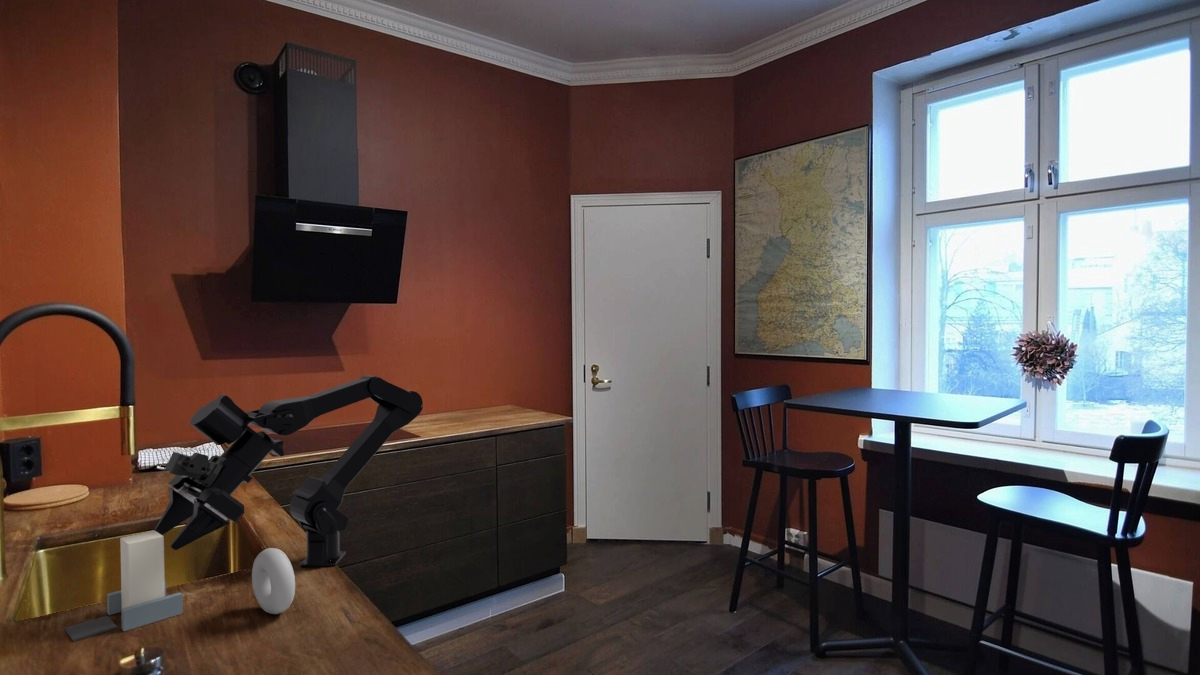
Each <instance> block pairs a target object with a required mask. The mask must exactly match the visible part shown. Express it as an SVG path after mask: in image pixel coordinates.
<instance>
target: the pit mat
mask: <svg viewBox="0 0 1200 675" xmlns="http://www.w3.org/2000/svg"><path fill="white" fill-rule="evenodd" d="M64 628H65V629H64V630H65V632H66V633H67V635H68V636H69V637H70V639H71V640H72V641H73V642H76V641H80V640H83V639H86V638H90V637H93V636H97V635H99V634H103V633H106V632H109V631H113V630H116V629H118V625H116V624H115V622H114V621H113V620H112V619H111V617H109V615H104V616H101V617H98V618H94V619H91V620H87V621H83V622H80V623H76V624H73V625H70V626H66V627H64Z"/></svg>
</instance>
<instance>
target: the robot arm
mask: <svg viewBox="0 0 1200 675" xmlns="http://www.w3.org/2000/svg"><path fill="white" fill-rule="evenodd" d="M366 399H370V400H371V401H373V402H374V403H376V404H377V407H376V411H375V415H374V418H373V419H372V421H371V422H370V423H369V425H368V426H366V428H365V429H364V430H363V431H362V433H360V434H359V435H358V437H357V438H356V439H355V440H354V441H353V442H352V444H350V446H348V448H346V450H345V451H344V452H343V454H342V455H341V456H340V457H339V458H338V459H337V461H335V463H334V464H333V465H332V466H331V467H330V469H328V470H327V472H326V473H324V474H323V475H322V476H320V477H318V478H316V477H313V476H311V475H310V476H308V477H306V478H305V480H304V481H303V483H302V484H301V485H300V487H299V488H297V489H296V490H294V491H293V492H292V494H293V497H292V498H291V499H290V502H289V513H290V515H291V516H292V517H293V519H295V520H297V521H298V523H299V526H300V527H301V528H305V529H306V531H305V533H306V534H305V535H306V557H305V558H304V559H303V560H302V561H301V562H300V563H299V567H301V568H302V567H303V568H304V567H326V566H327V567H328V566H329V567H330V566H336V565H338V563H339V562H340V561H341V559H342V558H343V557H344V556H346V552H347V551H345V550H340V532H341V531H344V530H346V528H347V525H348V522H349V518H348V517H347V516H346V515H345V514H343V513H342V512H340V511H339V510H338V509H339V507H340V506H341V505H342V503H343V499H344V495H345V491H346V489H347V487H348V486H349V485H350V484H351V483H352V481H354V479H355V478H356V477H357V475H358V474H359V473H360V472H361V471H362V470H363V469H364V468H365V466H366V465H367V464H368V463H369V462H370V461H371V459H372V458H373V457H374V456H375V455H376V453H377V452H378V451H379V450H380V448H382V447H383V445H384V444H385V443H386V442H387V440H388V439H389V438H390V437H391V436H392V435H393V434H394V433H395V432H397V431H398V430H400V429H403V428H404V427H405V426H408V425H409V424H411V423H412V422H413V421H414V420H415V419H416V418H417V417H418V416H419V415H421V413H422V411H423V409H424V405H423V404H424V403H423V401H424V400H423V399H422V396H421V395H420V393H418V391H414V390H408V389H407V390H406V389H404V388H401V387H400V386H397V385H396V384H393V383H391V382H388V381H387V380H385V379H383V378H382V377H380V376H378V375H368V374H367V375H363V376H361V377H360V378H358V379H354V380H351V381H348V382H346V383H343V384H341V385H339V384H338V385H337V386H333V387H331V388H328V389H325V390H322V391H319V392H316V393H313V394H310V395H306V396H300V397H293V398H292V397H291V398H284V399H278V400H271V401H268V402H266V403H263V404H262V405H261V406H260V408H258V409H254V410H250V411H244V410H243V409H242V408H241V407H239V406H238V405H237V404H236V403H235V402H234V401H233V399H232V398H231V397H229V395H226V394H220V395H219V396H218V397H216V399H214V400H211V401H210V402H208V403H207V404H206V405H204V406H201V407H200V408H199V409H198V410H197V411H196V412H195V413H194V414H193V416H192V417H191V419H190V421H189V425H190V426H191V427H192V428H194V429H196V431H198V432H199V433H200V434H202V435H203V436H204V437H205V438H207V439H209V441H211V442H212V443H213V444H214V445H215V446H221V445H224V444H226V445H229V446H228V447H227V448H226V449H225V450H224V451H223V452H222V454H220V455H217V454H215V455H212V456H211V457H210V458H209V455H206V454H203V453H200V452H194V453H193V454H192V455H187V454H184V453H180V452H176V451H173V452H172V454H171V456H170V457H169V460H168V462H167V464H166V466H165V468H164V471H165V472H169V473H170V474H172V475H175V476H174V477H173V478H172V479H170V481H169V482H168V483H167V484H168V485H169V487H167V492H168V497H169V502H168V504H167V506H166V508H165V510H164V512H162V513H163V514H162V515H161V516H160V519H159V520H158V522H157V524H156V526H155V527H154V530H153V531H156V532H158V533H159V534H161V535H162V536H164V535H165V534H167V533H168V532H170V531H171V530H173V529H174V528H176V527H177V526H179V525H180V524H182V523H183V522H185V521H187V520H188V521H187V522H186V524H185V525H184V526H183V527H182V529H181V530H180V531H179V533H178V534H177V535H176V536H175V538H174V540H173V541H172V542H171V544H170V545H169V546H170V548H171V549H173V550H175V551H178V550H180V549H181V548H184V547H185V546H188V545H189V544H191V543H193V542H194V541H197V540H199V539H201V538H203V537H205V536H207V535H209V534H211V533H212V532H215V531H217V530H219V529H221V528H224V527H225V526H226V527H227V526H229V525H231V523H230V522H229V521H231V522H232V523H234V524H236V523H238V521H239V520H240V519H241V518H242V516H243V515H244V514H245V504H244V503H242V502H241V501H239V500H238V499H236V498H235V497H234V496H232V495H233V494H234V493H235V492H236V491H237V489H238V488H240V486H241V485H242V484H243V483H247V484H249V483H250V482H251V480H253V478H252V477H251V474H252V473H253V472H254V471H255V470H256V469H257V468H258V467H259V465H260V464H261V463H262V462H263V461H264V460H265V459H266V458H267V457H268V456H269V455H270V453H271V454H272V455H275V456H279V457H283V456H284V455H285V451H284V441H283V440H281V439H273V438H272V437H271V436H269V435H268V433H271V434H275V435H278V436H289V435H290V436H291V435H292V434H294V433H296V432H297V431H299V430H301V429H303V428H305V427H307V426H308V425H310V423H312V422H313V421H314V420H315V419H317V418H318V417H320V416H323V415H325V414H328V413H331V412H333V411H337V410H338V409H341V408H344V407H347V406H350V405H352V404H355V403H359V402H361V401H363V400H366ZM251 426H253V427H257V428H261V429H262V430H263V431H262V430H261V431H258V432H256V431H255V430H254V429H252V428H251ZM264 431H265V432H264ZM171 487H172V488H171ZM227 520H229V521H227ZM330 560H331V561H330Z"/></svg>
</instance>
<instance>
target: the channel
mask: <svg viewBox="0 0 1200 675" xmlns="http://www.w3.org/2000/svg"><path fill="white" fill-rule="evenodd" d="M164 582H165V597H161V598H158V599H154V600H151V601H147V602H143V603H140V604H136V605H133V606H129V607H126V608H122V600H121V589H120V590H116V591H112V592H108V593H107V594H106V601H107V602H106V604H107V605H106V607H107V609H106V610H107V612H106V613H107V614H108V616H111V615H115V614H118V613H121V616H120V618H121V620H120V621H121V630H122V632H126V631H130V630H133V629H137V628H139V627H143V626H146V625H149V624H152V623H157V622H159V621H162V620H165V619H168V618H169V619H170V618H171V617H172V618H173V617H175V616H178V615H183V614H184V607H183V606H184V605H183V604H184V603H183V602H184V600H183V598H184V596H183V594H184V593H182V592H179V591H178V592H176V593H172V594H168V595H167V580H165V579H164Z"/></svg>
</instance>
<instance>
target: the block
mask: <svg viewBox="0 0 1200 675" xmlns="http://www.w3.org/2000/svg"><path fill="white" fill-rule="evenodd" d="M164 540H165V538H164V535H161V534H159V533H158V532H156V531H154V530H152V531H146V532H142V533H137V534H133V535H127V536H121V537H120V540H119V542H120V546H119V547H120V588H121V589H120V590H121V600H122V608H126V607H129V606H133V605H136V604H140V603H143V602H147V601H151V600H154V599H158V598H161V597H165V582H164V580H165V542H164Z"/></svg>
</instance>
